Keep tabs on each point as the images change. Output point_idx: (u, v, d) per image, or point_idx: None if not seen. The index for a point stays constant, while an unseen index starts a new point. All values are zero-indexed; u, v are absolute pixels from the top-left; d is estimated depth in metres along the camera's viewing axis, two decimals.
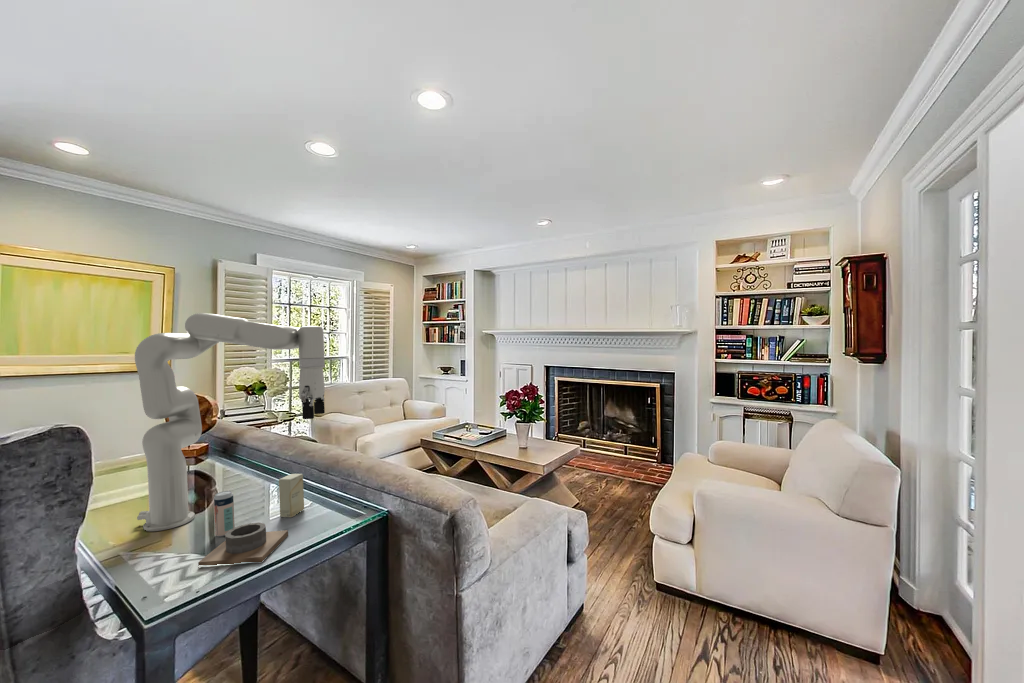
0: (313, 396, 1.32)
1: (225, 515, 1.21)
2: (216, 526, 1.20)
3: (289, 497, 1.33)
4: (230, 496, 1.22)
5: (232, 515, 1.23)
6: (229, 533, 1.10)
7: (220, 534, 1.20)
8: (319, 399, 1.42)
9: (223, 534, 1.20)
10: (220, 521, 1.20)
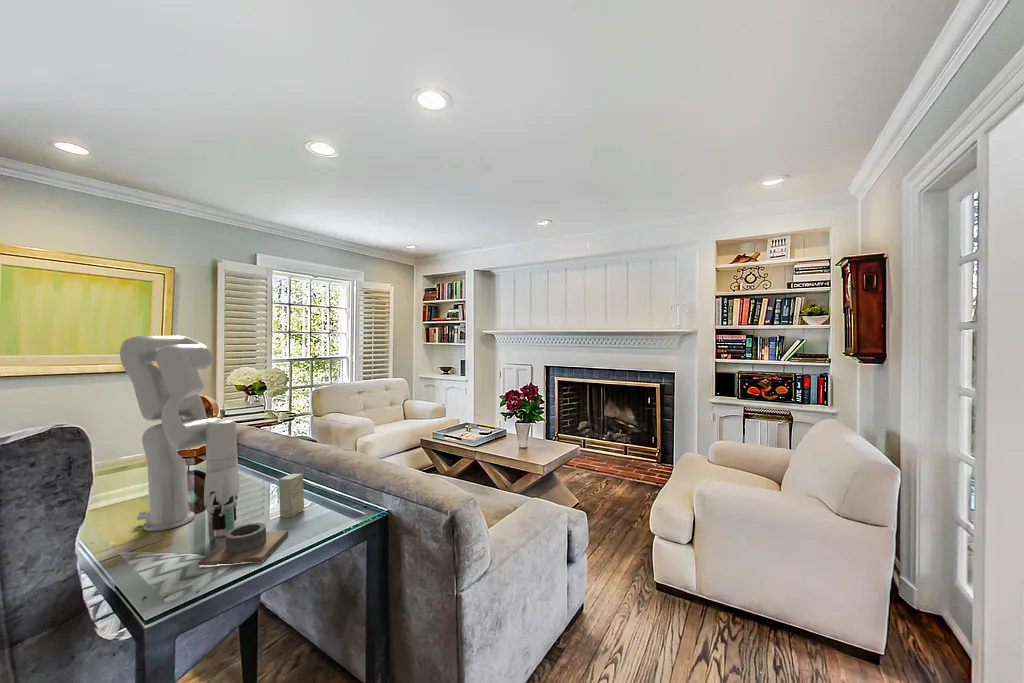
0: (220, 503, 1.18)
1: (225, 515, 1.21)
2: None
3: (289, 497, 1.33)
4: (230, 496, 1.22)
5: (232, 515, 1.23)
6: (229, 533, 1.10)
7: (220, 534, 1.20)
8: None
9: (223, 534, 1.20)
10: None
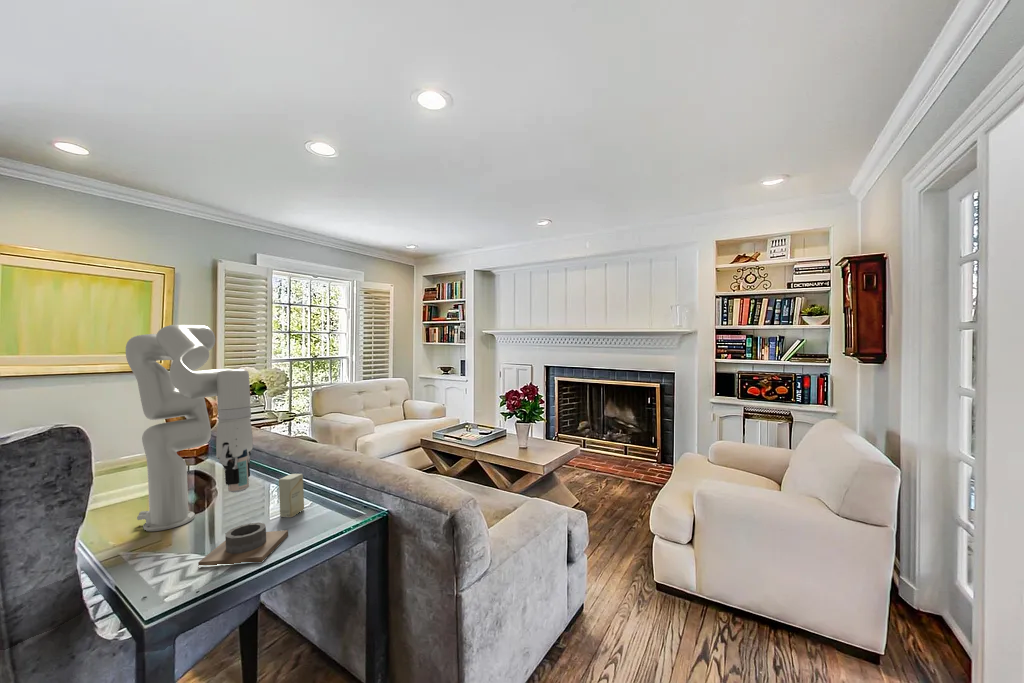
0: (233, 455, 1.10)
1: (239, 469, 1.13)
2: None
3: (289, 497, 1.33)
4: (244, 449, 1.15)
5: (246, 470, 1.15)
6: (229, 533, 1.10)
7: (234, 489, 1.12)
8: None
9: (237, 489, 1.13)
10: None
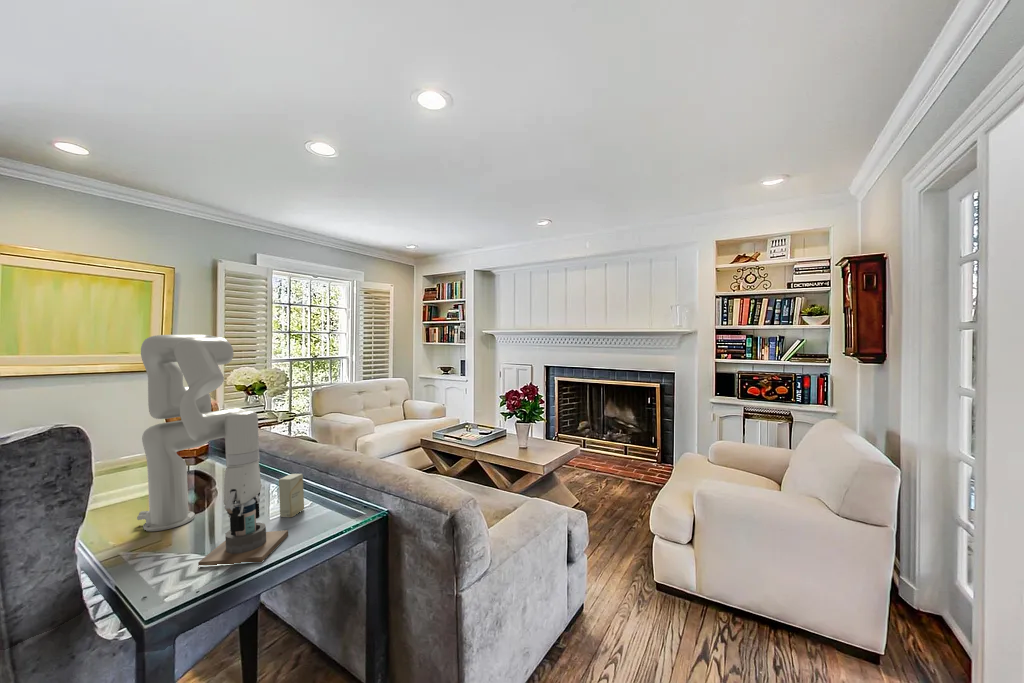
0: (241, 502, 1.07)
1: (246, 524, 1.10)
2: None
3: (289, 497, 1.33)
4: (252, 503, 1.12)
5: (254, 524, 1.12)
6: (229, 533, 1.10)
7: None
8: None
9: None
10: None
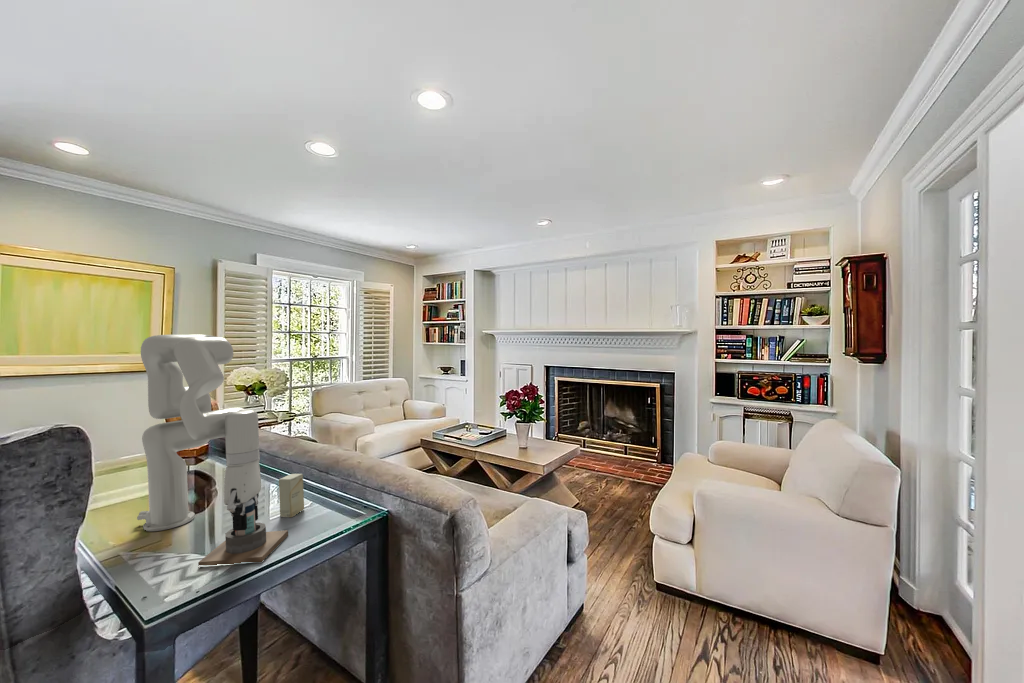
0: (242, 501, 1.07)
1: None
2: None
3: (289, 497, 1.33)
4: (251, 503, 1.11)
5: (253, 524, 1.12)
6: (229, 533, 1.10)
7: None
8: None
9: None
10: (241, 531, 1.10)
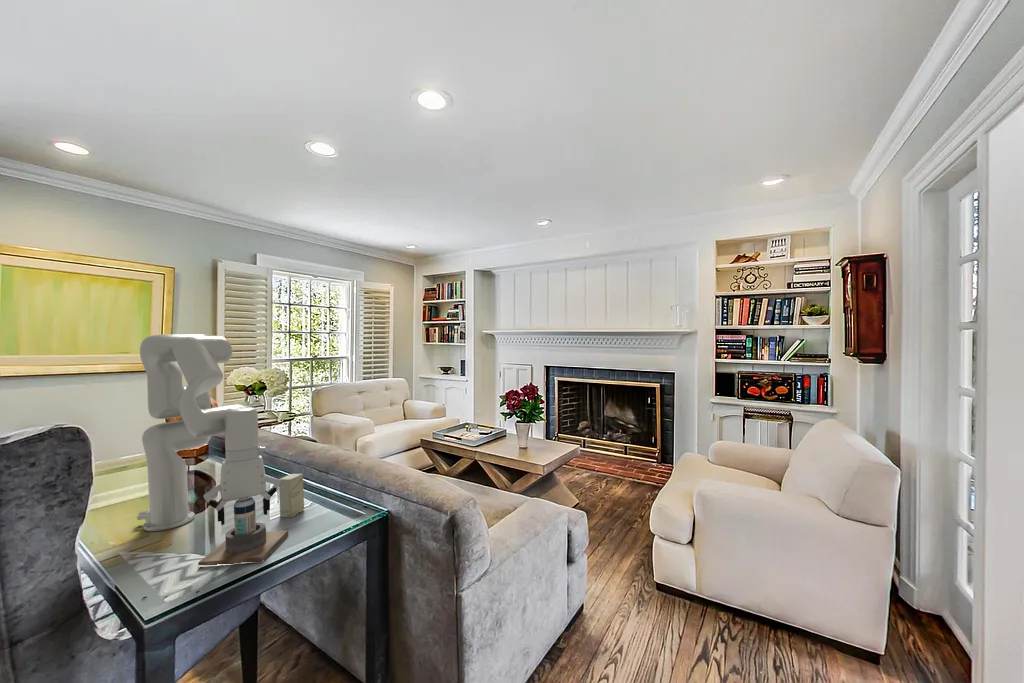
0: (222, 498, 1.08)
1: (237, 525, 1.10)
2: None
3: (289, 497, 1.33)
4: (242, 506, 1.10)
5: (245, 527, 1.10)
6: (229, 533, 1.10)
7: None
8: None
9: None
10: (235, 530, 1.10)
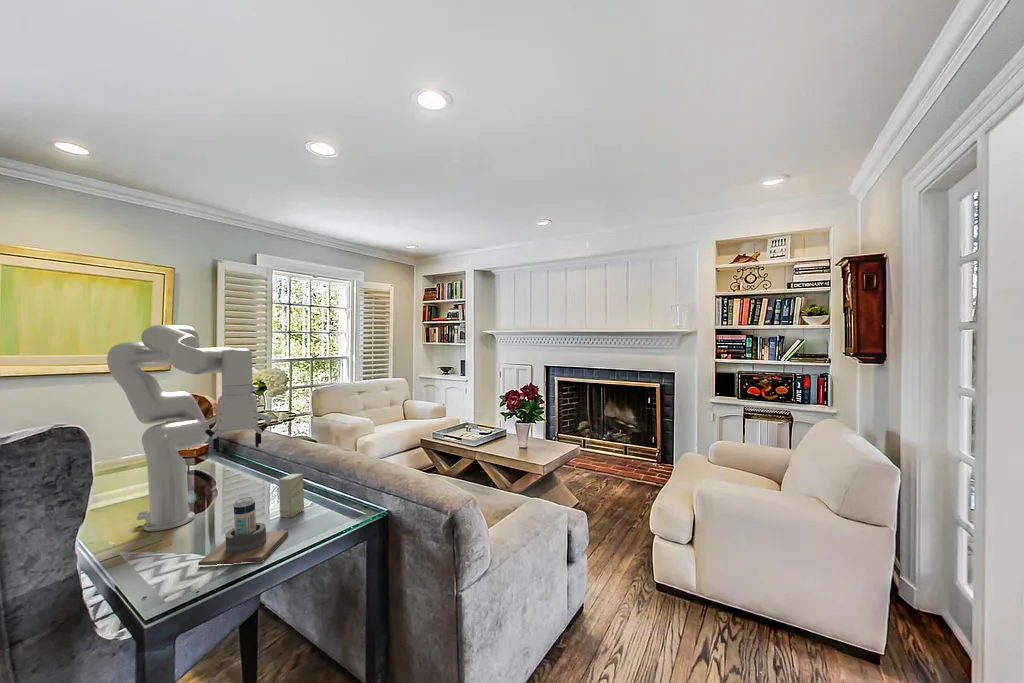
0: (217, 428, 1.19)
1: (237, 525, 1.10)
2: None
3: (289, 497, 1.33)
4: (242, 506, 1.10)
5: (245, 527, 1.10)
6: (229, 533, 1.10)
7: None
8: None
9: None
10: (235, 530, 1.10)
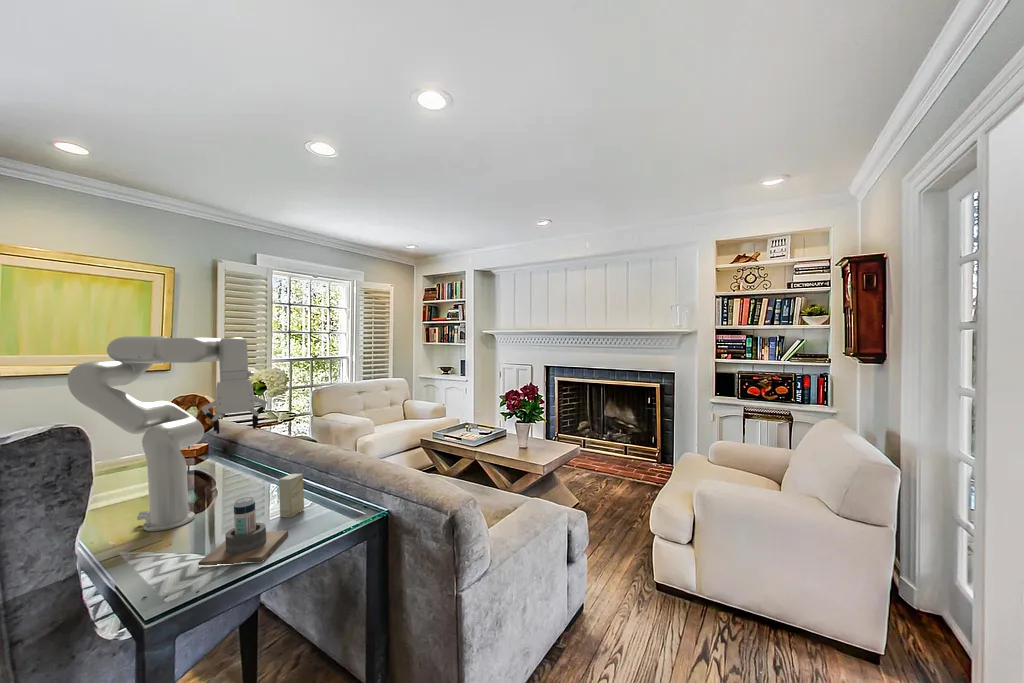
0: (217, 411, 1.28)
1: (237, 525, 1.10)
2: None
3: (289, 497, 1.33)
4: (242, 506, 1.10)
5: (245, 527, 1.10)
6: (229, 533, 1.10)
7: None
8: None
9: None
10: (235, 530, 1.10)
